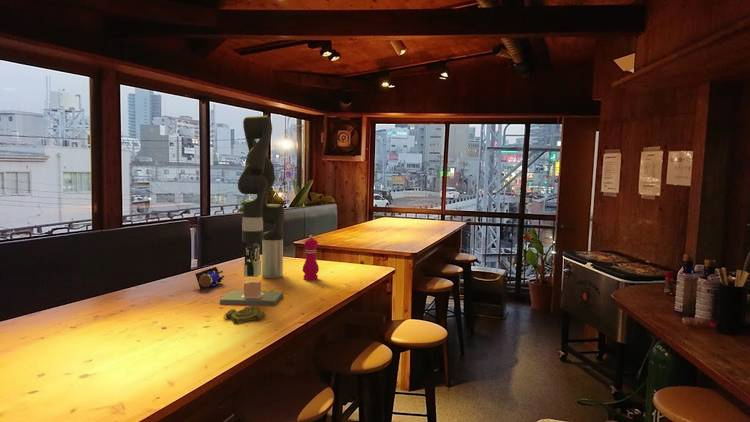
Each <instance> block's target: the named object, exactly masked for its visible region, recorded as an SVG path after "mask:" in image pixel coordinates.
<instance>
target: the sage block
mask: <svg viewBox="0 0 750 422" xmlns="http://www.w3.org/2000/svg"><path fill="white" fill-rule="evenodd" d="M249 262H250V260H249ZM260 275H261V276H262V260H258V261H254V275H253V276H247V266H246V265H245V262H244V263H243V278H244V277H245V278H258V277H260Z"/></svg>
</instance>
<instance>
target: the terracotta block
mask: <svg viewBox="0 0 750 422" xmlns="http://www.w3.org/2000/svg"><path fill="white" fill-rule="evenodd" d="M243 291H244V297H258V296H259V295H260V294H261V291H262V280H246V281H245V282H243Z"/></svg>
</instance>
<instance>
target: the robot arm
mask: <svg viewBox="0 0 750 422" xmlns="http://www.w3.org/2000/svg"><path fill="white" fill-rule="evenodd" d="M242 126H243V132H244V137H245V140H246V141H245V142H246V145H247V148H248V152H247V155H246V158H245V164H244V165H245V166H244V169H243V170H242V173H241V174H240V175H239V178H238V181H237V189H238V191H239V193H241V194H242V195H256V198H255V199H251V200H250V199H249V200H246V201H244V202H243V204H242V223H241V231H242V232H241V241H242V242H243V243H246V247H245V249H243V254H244V263H245V265H246V266H247V276H253V275H254V261H261V277H262V278H264V279H278V278H282V277H283V276H284V275H283V274H284V271H283V270H284V260H283V259H284V228H285V227H284V224H285V208H284V206H283V205H282V204H280V203H267V202H268V201H267V197H268V194H269V193H270V191H271V189H272V188H273V186H274V184H275V181H276V173H275V168H274V167H275V166H274V164H273V162H272V160H271V159H270V158H269V157H268V156H267V152H268V148H269V145H270V142H271V139H272V136H273V135H272V133H273V124H272V119H271V118H270V116H267V115H254V116H245V117H244V118H243V122H242ZM257 140H258V141H257ZM264 225H274V228H273V229H270V230H269V231H265V232H264ZM259 243H261V244H259ZM261 245H262V248H261ZM261 249H262V251H261ZM261 252H262V253H261ZM261 254H262V255H261ZM261 257H262V259H261V260H260V258H261ZM249 261H250V262H249Z"/></svg>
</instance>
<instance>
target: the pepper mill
mask: <svg viewBox="0 0 750 422" xmlns="http://www.w3.org/2000/svg"><path fill="white" fill-rule="evenodd" d="M308 237H309V238H307V239H306V240H305V241H304V242H303V243H304V244H303V246H304V248H305V254H306V255H305V256H306V257H305V261H304V263H303V266H302V272H303V273H304V274H303V280H304V281H317V280H318V273H319V271H320V270H319V267H320V266H319V265H318V262H317V259H316V253H317V248H318V245H319V243H318V241H317V239H315V238H314V236H313V235H312V234H311V235H309V236H308Z"/></svg>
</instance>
